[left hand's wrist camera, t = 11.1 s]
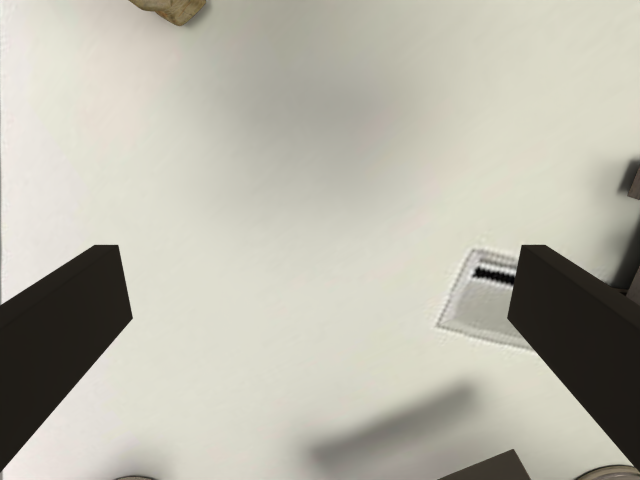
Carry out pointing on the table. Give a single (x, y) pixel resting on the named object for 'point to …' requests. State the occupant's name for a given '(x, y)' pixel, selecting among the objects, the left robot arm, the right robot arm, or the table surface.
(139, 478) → the bust sculpture
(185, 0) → the sculpture
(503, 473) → the bar
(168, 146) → the table surface
